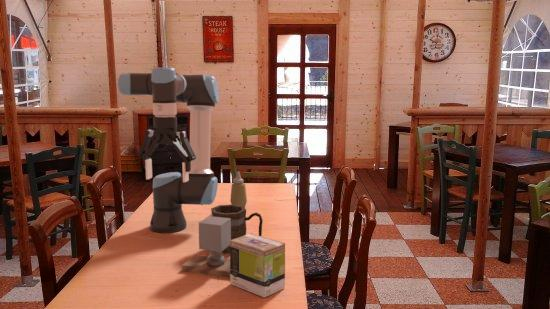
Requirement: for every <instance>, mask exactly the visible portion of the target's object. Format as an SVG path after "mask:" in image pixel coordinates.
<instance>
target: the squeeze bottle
mask: <svg viewBox="0 0 550 309" xmlns="http://www.w3.org/2000/svg"><path fill="white" fill-rule="evenodd" d="M246 188H247V187H246V184H245V183H244V179H243V178H242V177H241V173H240V171H237V172H236V176H235V178H233V183H232V184H231V189H230V190H231V191H230V205H231V204H233V205H239V206H244V207H245V208H246V206H247V204H248V203H247V202H248V199H247V198H248V197H247V189H246Z"/></svg>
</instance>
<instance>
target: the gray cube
mask: <svg viewBox="0 0 550 309" xmlns="http://www.w3.org/2000/svg"><path fill="white" fill-rule="evenodd" d="M230 240H231V218H222V217H213V216H212V215H209V216H207V217H205V218H204V219H203V220H201V221H199V222H198V250H202V251H203V250H204V251H209V250H210V251H218V252H222V251H223V250H224V249H225V248H227V247H228V246H229V245H230Z"/></svg>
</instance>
